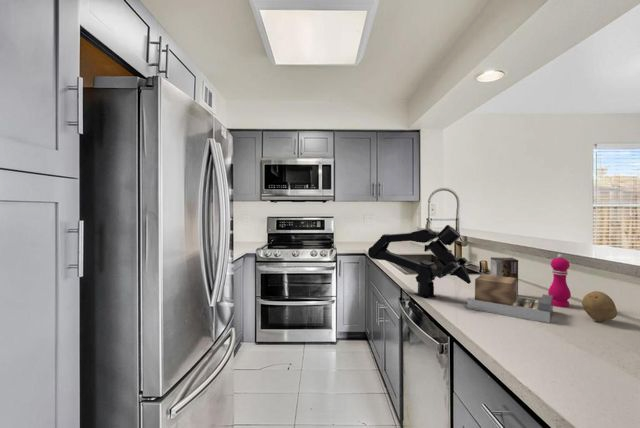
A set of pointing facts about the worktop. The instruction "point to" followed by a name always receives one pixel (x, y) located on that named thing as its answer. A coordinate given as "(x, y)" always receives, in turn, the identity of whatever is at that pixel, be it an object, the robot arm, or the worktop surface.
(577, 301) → the worktop surface
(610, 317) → the potato
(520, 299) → the track
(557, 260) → the pepper mill
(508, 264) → the coffee box
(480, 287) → the slab
